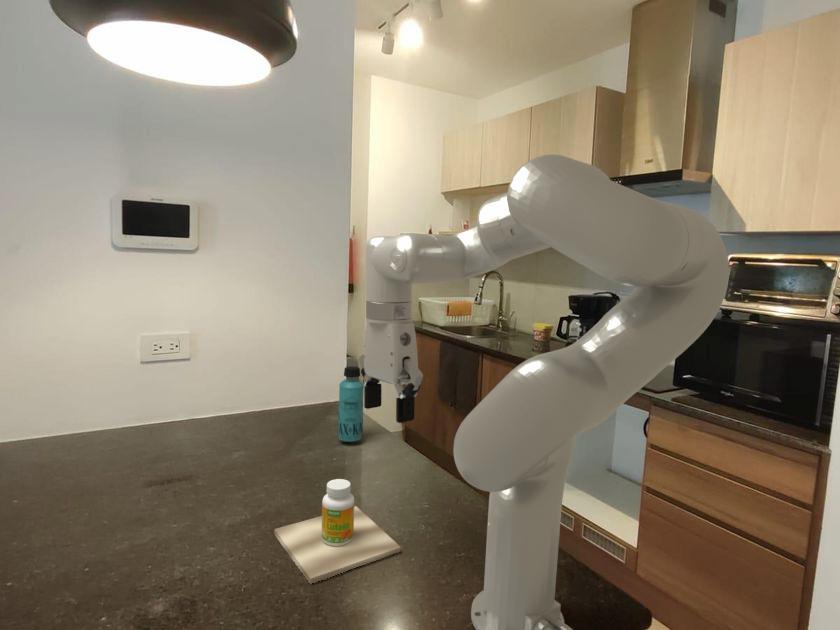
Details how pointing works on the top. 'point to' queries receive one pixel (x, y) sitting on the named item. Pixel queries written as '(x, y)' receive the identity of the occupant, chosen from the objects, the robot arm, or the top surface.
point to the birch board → (334, 547)
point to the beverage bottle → (350, 406)
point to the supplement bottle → (338, 513)
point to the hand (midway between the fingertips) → (388, 413)
